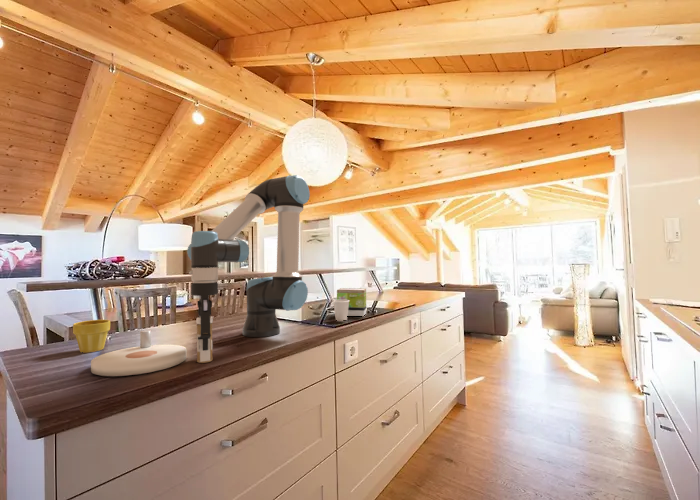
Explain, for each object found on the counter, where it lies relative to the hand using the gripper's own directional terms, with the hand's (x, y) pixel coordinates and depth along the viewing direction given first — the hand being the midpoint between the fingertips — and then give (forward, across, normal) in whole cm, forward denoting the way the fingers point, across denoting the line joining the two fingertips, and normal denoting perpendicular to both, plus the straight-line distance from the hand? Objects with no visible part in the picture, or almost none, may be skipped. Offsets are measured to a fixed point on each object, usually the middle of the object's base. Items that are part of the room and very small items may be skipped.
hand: (204, 357), depth 104 cm
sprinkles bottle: (+1, 0, 0) cm, 1 cm away
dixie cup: (+1, -46, +65) cm, 80 cm away
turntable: (+1, -5, -17) cm, 18 cm away
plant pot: (+1, -33, -35) cm, 48 cm away
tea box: (+1, -57, +76) cm, 95 cm away
